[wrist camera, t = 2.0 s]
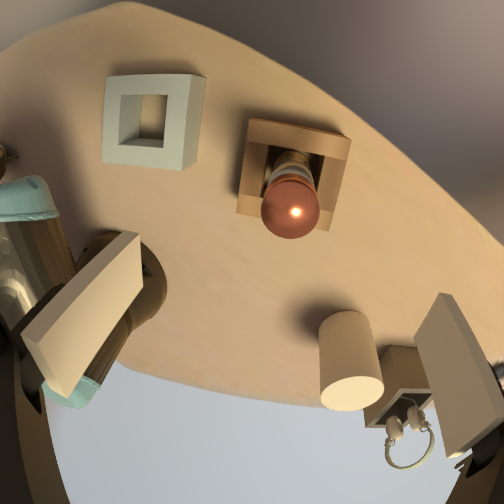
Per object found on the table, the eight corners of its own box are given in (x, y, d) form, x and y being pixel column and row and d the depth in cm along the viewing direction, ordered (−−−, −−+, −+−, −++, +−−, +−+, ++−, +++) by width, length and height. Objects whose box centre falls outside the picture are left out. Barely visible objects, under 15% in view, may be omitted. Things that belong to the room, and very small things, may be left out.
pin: (271, 181, 33) (256, 232, 21) (277, 148, 31) (265, 178, 19) (305, 188, 33) (312, 243, 20) (313, 155, 31) (325, 190, 18)
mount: (242, 201, 34) (236, 213, 31) (254, 117, 30) (249, 119, 26) (325, 217, 34) (328, 231, 30) (344, 135, 29) (351, 139, 26)
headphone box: (360, 388, 48) (365, 427, 41) (389, 345, 42) (400, 388, 35) (397, 390, 48) (404, 427, 40) (428, 348, 42) (442, 388, 34)
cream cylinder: (307, 334, 43) (307, 399, 33) (344, 301, 39) (355, 367, 29) (344, 355, 45) (349, 416, 34) (380, 326, 41) (396, 388, 30)
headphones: (408, 354, 43) (434, 454, 26) (417, 363, 44) (441, 458, 27) (370, 376, 47) (382, 474, 29) (380, 384, 48) (392, 477, 30)
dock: (124, 153, 33) (102, 162, 29) (129, 77, 28) (106, 76, 24) (196, 161, 33) (181, 171, 28) (206, 78, 28) (191, 74, 24)
